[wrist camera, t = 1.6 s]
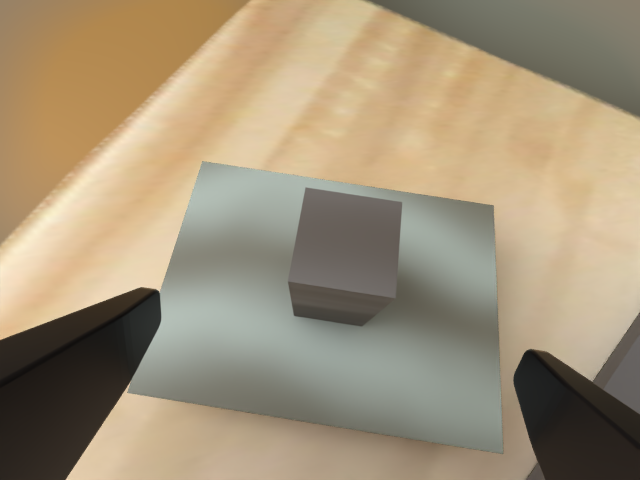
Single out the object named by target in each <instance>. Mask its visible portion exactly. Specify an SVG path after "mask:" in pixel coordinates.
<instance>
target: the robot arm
mask: <svg viewBox="0 0 640 480" xmlns="http://www.w3.org/2000/svg"><path fill="white" fill-rule="evenodd" d="M161 317H162V316H161V300H160V293H159V291H158V290H156V289H151V288H145V287H140V288H137V289H135V290H132V291H130V292H127V293H124V294H122V295H119V296H116V297H114V298H111V299H108V300H106V301H103V302H100V303H98V304H95V305H92V306H90V307H87V308H84V309H82V310H79V311H76V312H74V313H71V314H68V315H66V316H63V317H60V318H58V319H55V320H52V321H50V322H47V323H44V324H42V325H39V326H36V327H34V328H31V329H28V330H26V331H23V332H20V333H18V334H15V335H12V336H10V337H7V338H4V339H2V340H0V480H66V478H67V477H68V475H69V474H70V472H71V471H72V469H73V468H74V466H75V465H76V463H77V462H78V460H79V459H80V457H81V456H82V454H83V453H84V451H85V450H86V448H87V447H88V445H89V444H90V442H91V441H92V439H93V438H94V436H95V435H96V433H97V432H98V430H99V429H100V427H101V426H102V424H103V423H104V421H105V420H106V418H107V417H108V415H109V414H110V412H111V411H112V409H113V408H114V406H115V405H116V403H117V402H118V400H119V398H120V397H121V395H122V394H123V392H124V391H125V389H126V388H127V386H128V385H129V383H130V381H131V380H132V378H133V376H134V374H135V372H136V371H137V369H138V367H139V365H140V363H141V361H142V359H143V357H144V355H145V353H146V351H147V350H148V348H149V346H150V344H151V342H152V340H153V338H154V336H155V334H156V332H157V330H158V328H159V326H160V324H161ZM513 381H514V387H515V390H516V394H517V397H518V400H519V404H520V407H521V411H522V414H523V418H524V421H525V425H526V428H527V432H528V435H529V438H530V441H531V444H532V448H533V450H534V453H535V456H536V458H537V461H538V464H539V466H540V469H541V471H542V474H543V476H544V479H545V480H640V414H639V413H638V412H636V411H635V410H633V409H632V408H630V407H629V406H627V405H626V404H624V403H623V402H621V401H620V400H618V399H617V398H615V397H614V396H612V395H611V394H609V393H608V392H606V391H605V390H603V389H602V388H600V387H599V386H597V385H596V384H594V383H593V382H591V381H590V380H588V379H587V378H585V377H584V376H582V375H581V374H579V373H578V372H576V371H575V370H573V369H572V368H571V367H569V366H568V365H566V364H565V363H563V362H562V361H560V360H559V359H557V358H556V357H554V356H553V355H551V354H550V353H548V352H545V351H540V350H533V349H529V350H527V351H526V352H525V353H524V355H523V357H522V359H521V361H520V363H519V365H518V367H517V369H516V371H515V374H514V379H513Z"/></svg>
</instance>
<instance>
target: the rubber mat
mask: <svg viewBox="0 0 640 480" xmlns="http://www.w3.org/2000/svg"><path fill="white" fill-rule="evenodd" d="M593 383H594V384H596V385H597V386H599V387H600V388H602V389H603V390H605V391H606V392H608V393H609V394H611V395H612V396H614V397H615V398H617V399H618V400H620V401H621V402H623V403H624V404H626V405H627V406H629V407H630V408H632V409H633V410H635V411H636V412H638V413H639V414H640V313H639V315H638V316H637V318H636V319H635V321H634V322H633V324H632V325H631V326H630V328H629V329H628V331H627V332H626V334H625V335H624V337H623V338H622V340H621V341H620V343H619V344H618V346H617V347H616V349H615V350H614V351H613V353H612V354H611V356H610V357H609V359H608V360H607V362H606V363H605V365H604V366H603V368H602V369H601V371H600V372H599V374H598V375H597V376H596V378H595V379H594V381H593ZM526 480H545V479H544V476H543V474H542V471H541V469H540V466H539V464H538V463H537V465H536V466H535V468H534V469H533V471H532V472H531V474H530V475H529V476H528V478H527V479H526Z"/></svg>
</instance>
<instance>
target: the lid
mask: <svg viewBox="0 0 640 480" xmlns="http://www.w3.org/2000/svg"><path fill="white" fill-rule="evenodd" d="M160 300H161V316H162V317H161V324H160V326H159V328H158V330H157V332H156V334H155V336H154V338H153V340H152V342H151V344H150V346H149V348H148V350H147V351H146V353H145V355H144V357H143V359H142V361H141V363H140V365H139V367H138V369H137V371H136V372H135V374H134V376H133V378H132V380H131V383H130V386H129V389H128V392H127V393H131V394H138V395H144V396H150V397H156V398H162V399H168V400H174V401H181V402H187V403H193V404H199V405H205V406H211V407H217V408H224V409H230V410H236V411H242V412H248V413H254V414H260V415H267V416H273V417H279V418H285V419H291V420H297V421H303V422H310V423H316V424H322V425H328V426H334V427H340V428H346V429H352V430H359V431H365V432H371V433H377V434H383V435H389V436H395V437H402V438H408V439H414V440H420V441H426V442H432V443H438V444H445V445H451V446H457V447H463V448H469V449H475V450H481V451H488V452H494V453H500V454H503V434H502V409H501V383H500V357H499V332H498V306H497V281H496V255H495V230H494V205H487V204H480V203H474V202H467V201H461V200H454V199H448V198H441V197H434V196H428V195H421V194H415V193H408V192H401V191H395V190H388V189H382V188H375V187H369V186H362V185H355V184H349V183H342V182H336V181H329V180H323V179H316V178H309V177H303V176H296V175H290V174H283V173H276V172H270V171H263V170H257V169H250V168H244V167H237V166H230V165H224V164H217V163H211V162H204V161H202V164H201V167H200V170H199V173H198V176H197V180H196V183H195V186H194V189H193V192H192V195H191V198H190V201H189V204H188V207H187V210H186V213H185V217H184V220H183V223H182V226H181V229H180V232H179V235H178V238H177V241H176V244H175V247H174V250H173V254H172V257H171V260H170V263H169V266H168V269H167V272H166V275H165V278H164V281H163V284H162V287H161V291H160Z"/></svg>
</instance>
